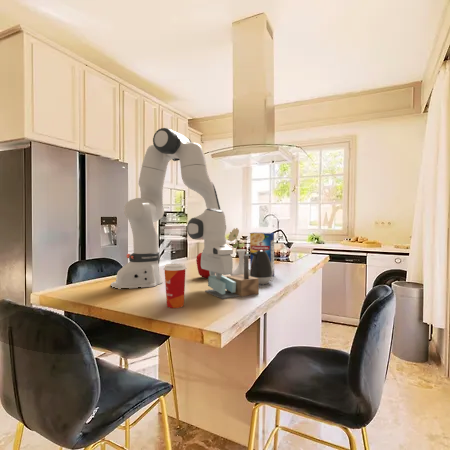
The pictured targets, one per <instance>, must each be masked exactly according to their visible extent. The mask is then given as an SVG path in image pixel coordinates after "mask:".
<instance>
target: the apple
mask: <svg viewBox="0 0 450 450" xmlns="http://www.w3.org/2000/svg"><path fill="white" fill-rule="evenodd" d="M201 254H202V252H200V253H198V254H197V256H196V260H195V261H196V266H197V268H196V269H197V271H198V275H199V276H200V277H201V278H203V279H208V278H209V276H210V274H209V270H205V269H202V268H201ZM215 274H216V272H215Z"/></svg>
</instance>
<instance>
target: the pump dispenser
mask: <svg viewBox="0 0 450 450" xmlns="http://www.w3.org/2000/svg"><path fill="white" fill-rule="evenodd" d="M249 254H251V255H253V256H254V257H253V260H252V263H251V268H249V270H250V276H251V277H255V278H258V285H267V284H268V283H270V282H271V280H272V277H273V276H272V267H271V263H270V260H269V257H268V255H267V253H266V252H265V251H263V250H258V251H257V252H256V253H253V252H251V253H250V252H249Z"/></svg>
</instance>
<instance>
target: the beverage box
mask: <svg viewBox="0 0 450 450" xmlns="http://www.w3.org/2000/svg"><path fill="white" fill-rule="evenodd" d="M249 241H250V243H249V244H250V245H249V246H250V247H249V248H250V249H249V250H250V251H249V254H250V253H251V252H253V253H256V252H257V251H258V250H263V251H265V252H266V253H267V255H268V257H269V260H270V263H271V267H272V277H273V276H275V232H249ZM253 257H254V256H253V255H251V254H250V257H249V258H250V259H249V261H250V265H249V266H250V268H251V263H252V260H253ZM250 268H249V269H250Z"/></svg>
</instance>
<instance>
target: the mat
mask: <svg viewBox="0 0 450 450" xmlns="http://www.w3.org/2000/svg"><path fill="white" fill-rule="evenodd" d="M204 292H205V293H207V294H209V295H212V296H214V297H216V298H219V299H222V300H226V299H233V298H238V297H240V296H239V295H237V294H234V293H231V292H228V291H227V289H225V294H220V293H219V292H217V291H216V290H214V289H212V288H211V289H207V290H206V289H205V290H204Z"/></svg>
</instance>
